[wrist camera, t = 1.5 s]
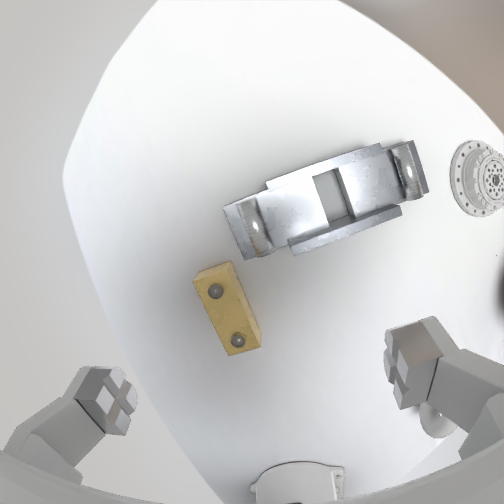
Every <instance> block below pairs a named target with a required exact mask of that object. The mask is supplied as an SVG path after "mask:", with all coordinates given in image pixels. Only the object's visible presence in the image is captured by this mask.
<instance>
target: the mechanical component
mask: <svg viewBox="0 0 504 504" xmlns="http://www.w3.org/2000/svg"><path fill="white" fill-rule="evenodd" d="M450 177H451V186H452V190H453V194H454V197H455V199H456V200H457V202H458V204H459V205H460V207H461V208H462V209H463V210H464V211H465V212H467V213H468V214H470V215H473V216H477V217H486V216H489V215H490V214H492V213H493V212H494V211H495V210H496V211H497V210H498V209H500V208H501V207H502V206H504V158H503V155H502V154H500V153H498V152H497V151H495V150H493V148H492V147H491V146H490V145H488V144H486V143H484V142H482V141H470V142H467V143H464V144H463V145H462V146H461V147H459V148H458V150H457V152H456V153H455V155H454V157H453V160H452V163H451V172H450Z"/></svg>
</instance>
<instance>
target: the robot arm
mask: <svg viewBox="0 0 504 504" xmlns="http://www.w3.org/2000/svg"><path fill="white" fill-rule="evenodd" d="M385 343H386V345H387V349H386V350H385V351H384V368H385V372H386V376H387V378H388V381H389V382H390V383H392V384H393V385H394V391H393V394H394V396H395V399H396V402H397V404H398V407H399V409H400V410H402V409H405V408H408V407H412V406H415V405H418V404H422V403H425V402H427V404H428V405H430V406H431V407H433V408H434V409H435V410H437V411H438V412H440V413H441V414H442V415H444V416H445V417H446V418H448V419H449V420H451V421H452V422H453V423H455V424H456V425H458V426H459V427H460V428H462V429H463V430H465V431H466V432H468V433H469V434H468V436H467V438H466V439H465V441H464V443H463V444H462V446H461V447H460V449H459V451H458V452H459V454H460V457H461V459H462V460H461V461H460V462H457V463H455V464H453V465H450V466H448V467H446V468H444V469H441V470H439V471H436V472H434V473H431V474H429V475H426V476H423V477H421V478H418V479H415V480H412V481H409V482H406V483H403V484H400V485H397V486H394V487H390V488H387V489H383V490H380V491H376V492H372V493H368V494H364V495H360V496H356V497H351V498H346V499H343V498H342V493H343V480H344V468H343V467H329V466H325V465H322V464H318V463H311V462H296V463H288V464H283V465H279V466H276V467H273V468H271V469H269V470H267V471H265V472H264V473H263V474H262V475H261V476H260V477H259V479H258V481H257V482H255V483H254V484H252V485H251V486H250V491H251V492H252V493H254V494H255V495H256V504H504V365H501V364H499V363H497V362H494V361H492V360H490V359H487V358H485V357H483V356H480V355H478V354H475V353H473V352H471V351H468V350H466V349H462V350H459V348H458V347H457V345H456V344H455V343H454V341H453V340H452V338H451V337H450V336H449V334H448V333H447V331H446V330H445V329H444V327H443V326H442V325H441V323H440V322H439V321H438V319H437V318H436V317H434V316H431V317H428V318H424V319H421V320H418V321H416V322H412V323H409V324H405V325H402V326H398V327H395V328H391V329H387V330H386V332H385ZM125 377H126V375H125V373H124V372H123V371H122V369H121V368H118V367H99V366H95V367H90V366H84V367H82V368H80V370H79V371H78V373H77V374H76V376H75V377H74V379H73V381H72V382H71V384H70V386H69V387H68V389H67V391H66V392H65V394H64V395H63V397H62V398H60V397H59V398H58V399H56V400H55V401H53V402H52V403H50V404H49V405H48V406H46V407H45V408H43V409H42V410H40V411H39V412H38V413H36V414H35V415H33V416H32V417H30V418H29V419H27V420H26V421H25V422H23V423H22V424H20V425H19V426H17V427H16V429H15V431H14V432H13V434H12V436H11V437H10V439H9V441H8V443H7V445H6V446H5V448H4V450H3V452H2V451H0V504H163V503H155V502H149V501H144V500H139V499H134V498H129V497H124V496H120V495H116V494H112V493H108V492H104V491H101V490H97V489H93V488H90V487H87V486H84V485H81V481H82V479H83V476H82V474H81V473H80V472H79V471H77V470H76V469H75V468H74V467H75V466H76V465H77V464H78V463H79V462H80V461H81V460H82V459H83V458H84V456H86V454H88V453H89V452H90V451H91V450H92V449H93V447H95V445H96V444H97V443H98V442H99V441H100V440H101V439H102V438H103V437H104V436H105V435H106V434H112V435H123V436H125V435H126V432H127V430H128V427H129V424H130V422H131V419H130V416H129V415H130V414H131V413H133V412H134V411H135V409H136V406H137V394H136V390H135V389H134V387H133V385H131V384H130V383H129V382H127V381H126V380H125Z"/></svg>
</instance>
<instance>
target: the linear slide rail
mask: <svg viewBox="0 0 504 504" xmlns="http://www.w3.org/2000/svg"><path fill="white" fill-rule="evenodd" d="M332 169H334V171H335V174H336V176H337V179H338V182H339V185H340V187H341V190H342V193H343V196H344V199H345V202H346V205H347V208H348V211H349V214H350V215H347V216H345V217H342V218H339V219H336V220H334V221H331V222H328V221H327V218H326V215H325V212H324V209H323V207H322V204H321V201H320V198H319V195H318V193H317V190H316V187H315V185H314V182H313V179H312V176H315V175H317V174H320V173H323V172H326V171H329V170H332ZM266 185H267V187H268V189H266V190H264V191H261V192H258V193H256V194H253V195H251V196H248V197H246V198H243V199H240V200H238V201H235V202H233V203H230V204H228V205H226V206H224V207H223V209H224V212H225V214H226V216H227V219H228V221H229V224H230V226H231V229H232V231H233V234H234V236H235V238H236V241H237V243H238V246H239V248H240V251H241V253H242V255H243V258H244V260H248V259H251V258H253V257H256V256H257V257H263V256H266V255H269V254H271V253H273V252H274V251H275V250H276V249H278V248H281V247H283V246H286V245H289V244H290V247H291V250H292V253H293V255H294V256H295V255H298V254H301V253H304V252H306V251H309V250H312V249H314V248H317V247H320V246H323V245H325V244H328V243H331V242H333V241H336V240H339V239H341V238H344V237H347V236H349V235H352V234H355V233H357V232H360V231H362V230H365V229H368V228H370V227H373V226H376V225H378V224H381V223H383V222H386V221H389V220H391V219H394V218H396V217H399V216H401V215H402V212H401V208H400V206H399V205H396V204H399V203H401V202H404V201H407V200H408V201H410V200H416V199H419V198H421V197H423V196H424V195H423V194H425V193H428V192H429V190H428V186H427V182H426V179H425V175H424V172H423V168H422V165H421V162H420V159H419V156H418V153H417V150H416V147H415V144H414V141H413V140H412V141H407V142H403V143H400V144H397V145H393V146H390V147H387V148H384V149H382V148H381V145H380V143H377V144H374V145H370V146H367V147H364V148H361V149H357V150H354V151H351V152H348V153H345V154H342V155H339V156H336V157H333V158H330V159H327V160H325V161H322V162H319V163H316V164H313V165H310V166H307V167H305V168H302V169H299V170H296V171H294V172H291V173H288V174H285V175H283V176H280V177H277V178H275V179H272V180H269V181H267V182H266Z"/></svg>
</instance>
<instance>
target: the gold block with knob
mask: <svg viewBox="0 0 504 504" xmlns="http://www.w3.org/2000/svg"><path fill="white" fill-rule="evenodd" d="M193 282H194V285H195V287H196V289H197V291H198V293H199V296H200V298H201V300H202V302H203V304H204V306H205V309H206V311H207V313H208V315H209V317H210V319H211V321H212V323H213V325H214V328H215V330H216V332H217V334H218V336H219V338H220V340H221V342H222V344H223V346H224V348H225V350H226V352H227V354H228V356H231V355H234V354H238V353H242V352H245V351H249V350H252V349H256V348H259V347H261V332H260V329H259V327H258V325H257V322H256V320H255V317H254V315H253V313H252V310H251V308H250V306H249V303H248V301H247V298H246V296H245V294H244V291H243V289H242V286H241V284H240V282H239V279H238V277H237V274H236V272H235V270H234V267H233V265H232V262H231V261H229V262H226V263H223V264H220V265H218V266H215V267H212V268H209V269H206V270H204V271H201V272H199V273H198V275H197V276H196V278H195V279H194V280H193Z"/></svg>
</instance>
